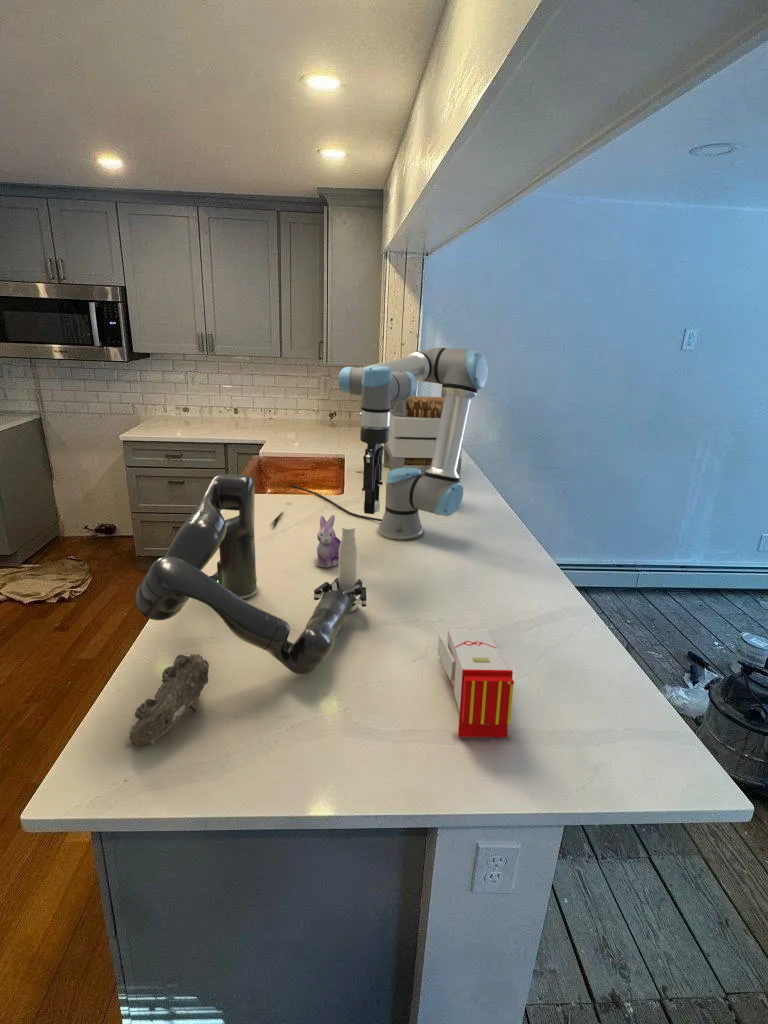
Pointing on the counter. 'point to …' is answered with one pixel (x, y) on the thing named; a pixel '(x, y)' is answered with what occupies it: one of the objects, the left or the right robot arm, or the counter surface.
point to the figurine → (327, 544)
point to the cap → (377, 506)
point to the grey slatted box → (414, 432)
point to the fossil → (170, 698)
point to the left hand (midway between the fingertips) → (350, 581)
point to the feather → (276, 520)
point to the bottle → (347, 559)
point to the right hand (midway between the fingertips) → (371, 510)
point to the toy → (478, 682)
